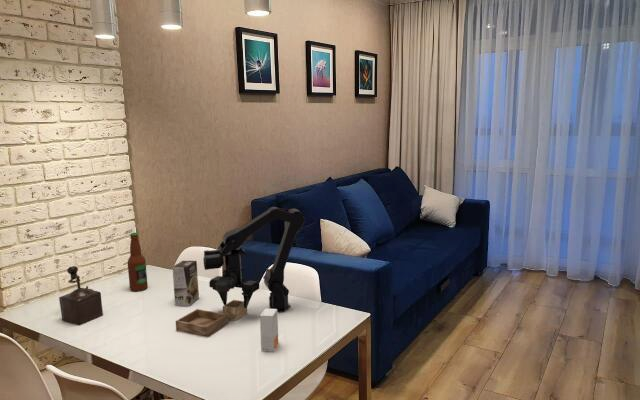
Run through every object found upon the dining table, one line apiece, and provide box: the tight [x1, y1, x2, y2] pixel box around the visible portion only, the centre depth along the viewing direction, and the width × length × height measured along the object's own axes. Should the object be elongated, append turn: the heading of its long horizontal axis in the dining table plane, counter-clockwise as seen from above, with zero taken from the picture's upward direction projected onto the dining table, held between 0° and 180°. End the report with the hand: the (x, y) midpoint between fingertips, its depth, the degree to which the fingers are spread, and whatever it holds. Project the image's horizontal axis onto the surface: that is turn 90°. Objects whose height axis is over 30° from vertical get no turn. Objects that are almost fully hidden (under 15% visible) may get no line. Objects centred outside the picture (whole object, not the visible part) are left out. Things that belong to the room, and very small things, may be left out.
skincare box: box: [259, 307, 279, 353], centre depth 153 cm, size 6×4×12 cm
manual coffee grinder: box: [58, 265, 104, 326], centre depth 181 cm, size 16×11×18 cm
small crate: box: [222, 299, 249, 321], centre depth 180 cm, size 6×7×4 cm
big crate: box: [175, 308, 229, 338], centre depth 170 cm, size 14×12×4 cm
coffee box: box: [172, 260, 200, 307], centre depth 193 cm, size 9×6×16 cm
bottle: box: [127, 232, 149, 293], centre depth 208 cm, size 7×7×25 cm
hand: (235, 306), depth 180 cm, fingers open, 9 cm apart
